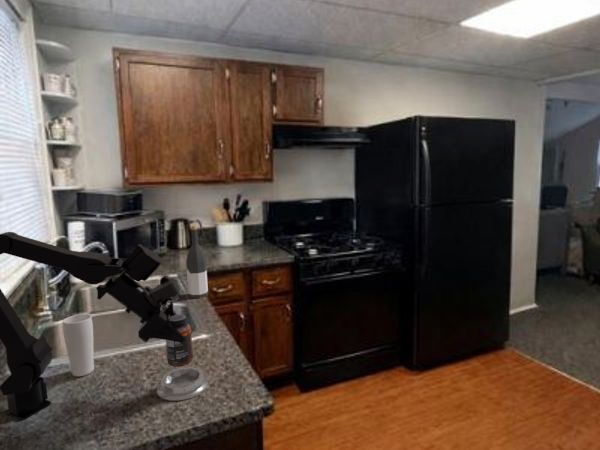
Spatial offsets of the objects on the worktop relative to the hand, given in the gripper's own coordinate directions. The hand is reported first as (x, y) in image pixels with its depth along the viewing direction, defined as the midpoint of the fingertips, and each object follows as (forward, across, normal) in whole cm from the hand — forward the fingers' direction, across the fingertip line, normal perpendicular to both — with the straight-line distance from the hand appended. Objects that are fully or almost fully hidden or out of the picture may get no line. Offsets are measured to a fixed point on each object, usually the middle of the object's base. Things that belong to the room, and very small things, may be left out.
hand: (184, 335), depth 94 cm
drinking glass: (-10, +15, +29) cm, 34 cm away
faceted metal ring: (+8, 0, +10) cm, 13 cm away
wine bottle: (+10, +72, +9) cm, 73 cm away
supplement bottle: (+4, 0, +6) cm, 7 cm away
